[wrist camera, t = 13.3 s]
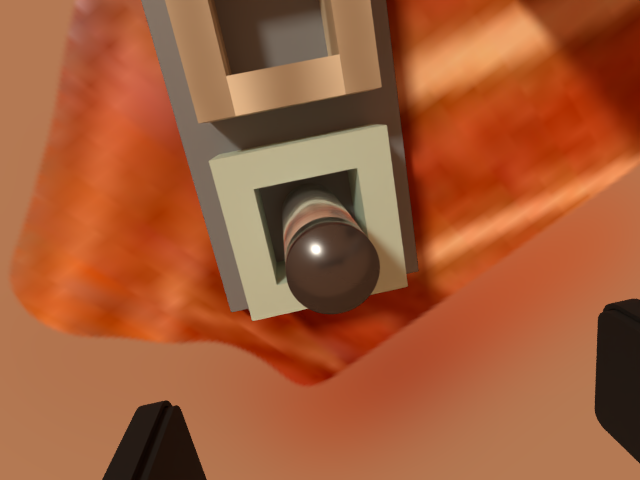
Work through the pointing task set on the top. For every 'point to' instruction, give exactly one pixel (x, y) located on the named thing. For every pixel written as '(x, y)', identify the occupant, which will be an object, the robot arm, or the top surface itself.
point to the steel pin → (326, 252)
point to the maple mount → (281, 81)
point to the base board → (278, 114)
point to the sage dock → (295, 164)
